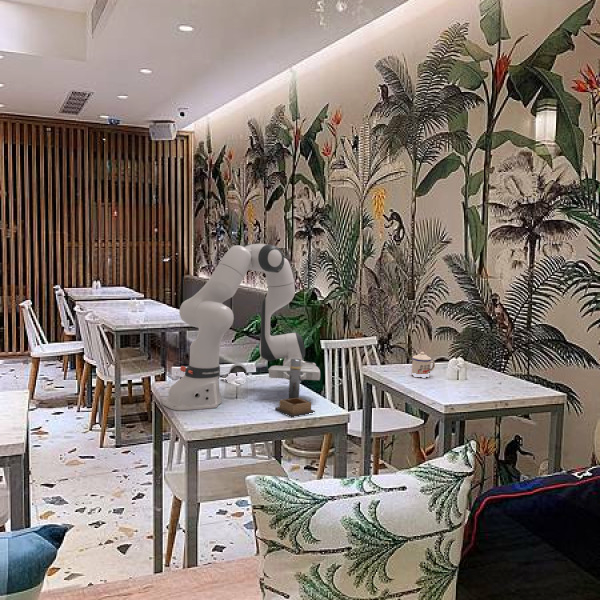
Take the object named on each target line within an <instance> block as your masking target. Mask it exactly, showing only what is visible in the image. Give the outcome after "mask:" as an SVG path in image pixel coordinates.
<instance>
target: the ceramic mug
mask: <svg viewBox="0 0 600 600" xmlns="http://www.w3.org/2000/svg"><path fill="white" fill-rule="evenodd" d="M247 371H248V370H247V367H246V366H245V365H244V364H243V363H239V362H238V363H234V364H233V365H231V367H230V369H229V372H228V373H225V374H224V375H223V376H221V378H226V377H227V375H228V374H230V373H237V372H244V373H246V375H248V372H247Z"/></svg>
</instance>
